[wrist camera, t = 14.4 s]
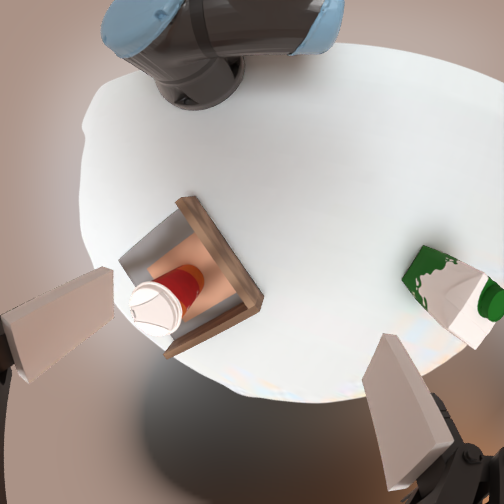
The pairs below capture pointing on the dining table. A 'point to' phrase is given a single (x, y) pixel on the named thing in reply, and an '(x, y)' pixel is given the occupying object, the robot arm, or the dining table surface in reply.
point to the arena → (207, 261)
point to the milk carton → (455, 295)
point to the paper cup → (165, 300)
